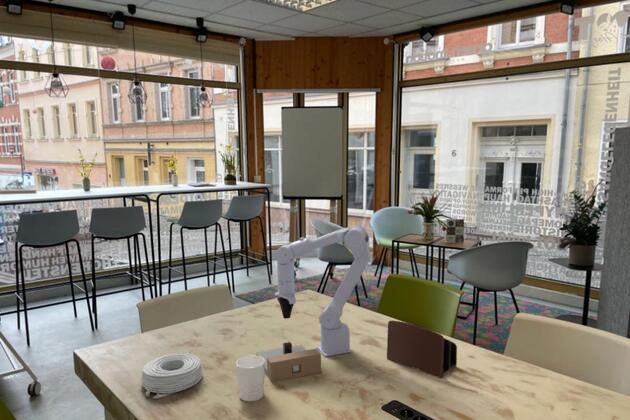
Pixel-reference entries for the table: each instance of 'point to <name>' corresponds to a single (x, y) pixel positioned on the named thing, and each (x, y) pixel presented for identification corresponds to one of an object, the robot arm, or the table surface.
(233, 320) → the table surface
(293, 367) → the bolt
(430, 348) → the letter holder
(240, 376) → the white cup
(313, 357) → the door and jamb
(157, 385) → the cable
